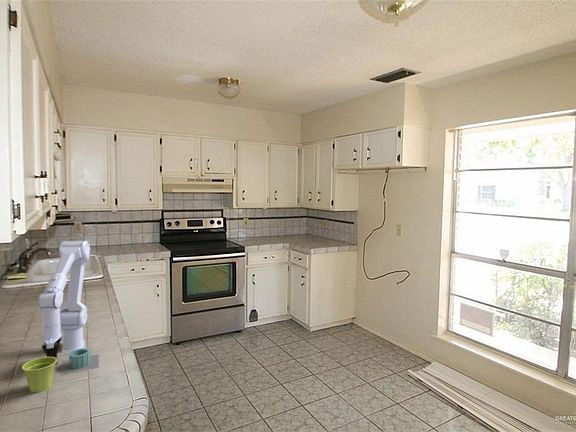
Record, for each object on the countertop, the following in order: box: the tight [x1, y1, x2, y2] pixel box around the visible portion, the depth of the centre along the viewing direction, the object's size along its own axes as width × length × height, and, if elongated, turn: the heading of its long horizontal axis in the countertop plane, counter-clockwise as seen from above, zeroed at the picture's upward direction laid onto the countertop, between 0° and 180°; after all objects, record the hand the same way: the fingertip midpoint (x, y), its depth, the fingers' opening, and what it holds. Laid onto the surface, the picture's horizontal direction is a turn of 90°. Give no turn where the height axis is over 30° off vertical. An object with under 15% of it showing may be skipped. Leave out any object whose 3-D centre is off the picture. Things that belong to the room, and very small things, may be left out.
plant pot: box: [21, 356, 57, 394], centre depth 119 cm, size 9×9×9 cm
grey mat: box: [60, 354, 100, 376], centre depth 135 cm, size 12×12×1 cm
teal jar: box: [68, 347, 92, 369], centre depth 135 cm, size 7×7×5 cm
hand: (52, 359), depth 135 cm, fingers open, 4 cm apart
